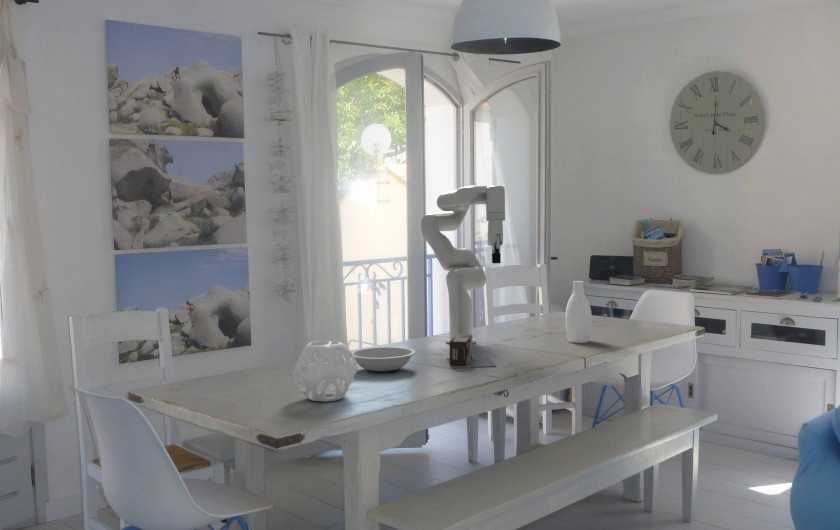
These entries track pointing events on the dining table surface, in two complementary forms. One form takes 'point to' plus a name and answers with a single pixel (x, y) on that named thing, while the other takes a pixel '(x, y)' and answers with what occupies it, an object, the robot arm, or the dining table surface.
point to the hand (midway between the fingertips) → (496, 263)
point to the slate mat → (477, 363)
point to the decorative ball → (325, 370)
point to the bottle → (578, 315)
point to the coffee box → (461, 350)
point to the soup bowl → (383, 358)
